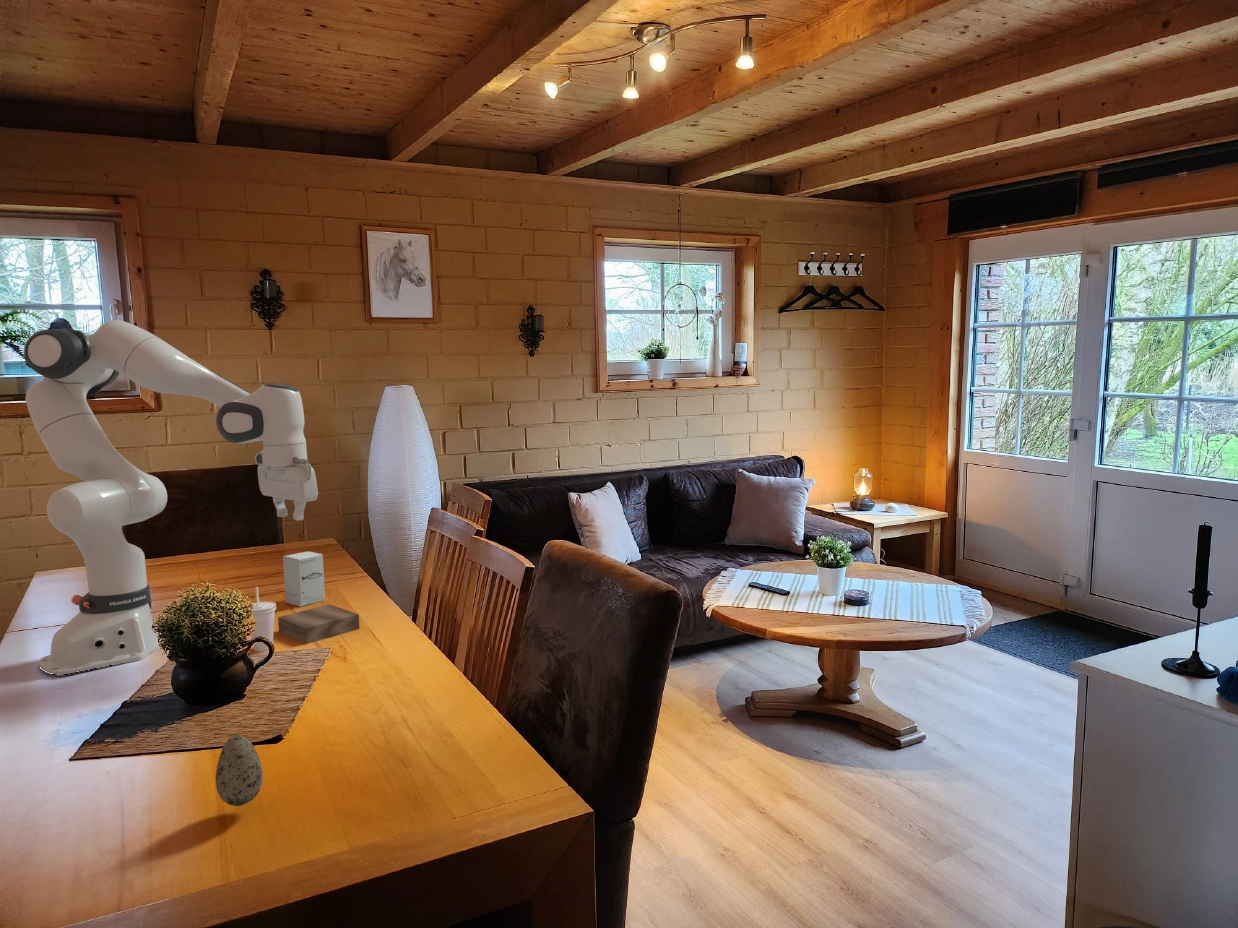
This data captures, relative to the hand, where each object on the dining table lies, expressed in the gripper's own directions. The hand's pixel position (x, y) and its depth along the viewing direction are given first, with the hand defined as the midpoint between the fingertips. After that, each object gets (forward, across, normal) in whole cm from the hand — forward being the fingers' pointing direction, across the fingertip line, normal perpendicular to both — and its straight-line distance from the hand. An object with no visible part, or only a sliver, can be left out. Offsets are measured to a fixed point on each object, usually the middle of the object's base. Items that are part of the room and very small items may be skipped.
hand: (290, 518), depth 179 cm
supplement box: (+28, +26, -15) cm, 41 cm away
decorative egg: (+28, -61, +40) cm, 78 cm away
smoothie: (+28, -1, +9) cm, 29 cm away
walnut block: (+28, +1, -6) cm, 29 cm away
